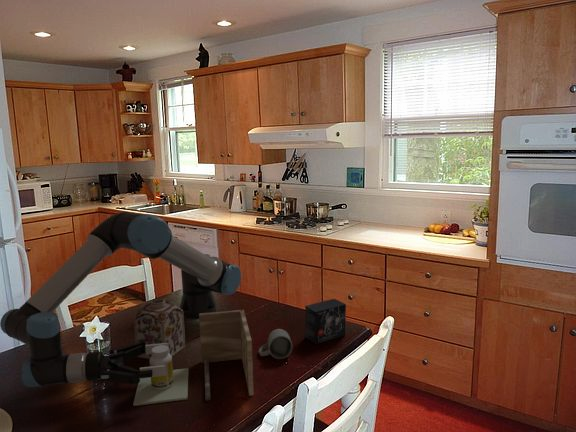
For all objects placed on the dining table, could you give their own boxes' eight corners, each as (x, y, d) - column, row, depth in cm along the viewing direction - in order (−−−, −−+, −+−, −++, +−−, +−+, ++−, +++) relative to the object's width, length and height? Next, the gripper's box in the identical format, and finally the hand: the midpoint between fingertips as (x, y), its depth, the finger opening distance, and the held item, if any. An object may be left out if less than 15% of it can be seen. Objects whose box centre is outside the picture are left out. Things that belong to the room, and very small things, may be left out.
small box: (316, 345, 154) (315, 311, 152) (304, 338, 159) (304, 305, 157) (346, 335, 161) (346, 303, 159) (334, 329, 166) (334, 297, 164)
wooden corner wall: (201, 361, 144) (199, 313, 141) (245, 356, 146) (243, 309, 144) (202, 401, 122) (199, 345, 119) (253, 395, 125) (251, 340, 122)
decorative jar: (135, 357, 147) (131, 304, 144) (157, 342, 158) (153, 292, 155) (166, 363, 143) (162, 309, 140) (186, 347, 154) (183, 296, 151)
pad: (140, 375, 136) (140, 373, 136) (188, 370, 139) (188, 368, 139) (133, 405, 121) (133, 403, 120) (187, 399, 123) (187, 397, 123)
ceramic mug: (289, 346, 153) (288, 325, 152) (293, 358, 145) (292, 335, 144) (257, 349, 152) (256, 328, 150) (259, 361, 144) (258, 338, 142)
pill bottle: (166, 376, 134) (164, 341, 132) (178, 384, 129) (175, 348, 127) (147, 384, 130) (144, 348, 128) (158, 393, 125) (155, 356, 123)
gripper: (97, 358, 137) (170, 350, 141) (76, 405, 113) (165, 394, 117) (95, 334, 136) (168, 327, 140) (73, 377, 111) (163, 367, 116)
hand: (167, 358), depth 128 cm, fingers open, 13 cm apart
